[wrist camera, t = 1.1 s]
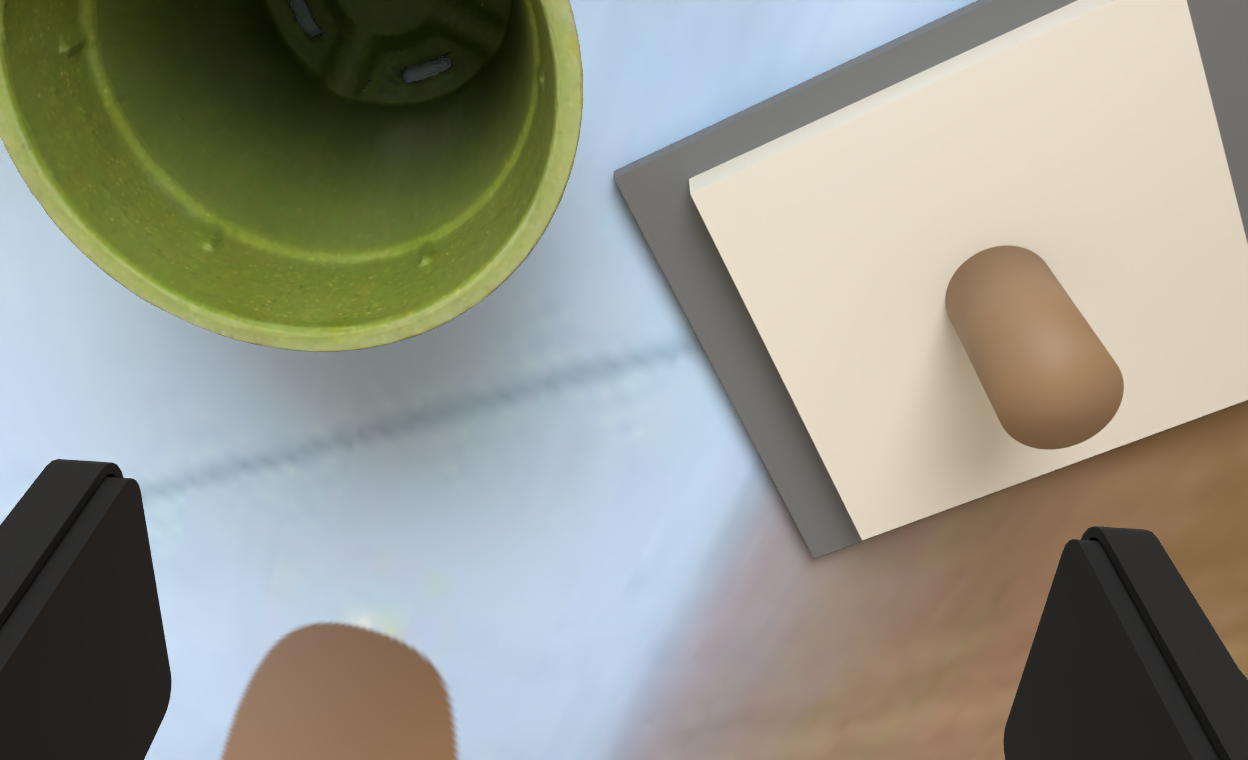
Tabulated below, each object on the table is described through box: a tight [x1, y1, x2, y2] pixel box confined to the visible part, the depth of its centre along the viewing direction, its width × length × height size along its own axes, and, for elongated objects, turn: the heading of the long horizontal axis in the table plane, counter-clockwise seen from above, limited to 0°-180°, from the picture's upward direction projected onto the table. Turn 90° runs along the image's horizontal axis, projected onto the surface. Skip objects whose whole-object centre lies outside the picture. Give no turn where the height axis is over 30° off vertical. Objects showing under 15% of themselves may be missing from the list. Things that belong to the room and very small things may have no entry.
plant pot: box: [0, 0, 583, 352], centre depth 28 cm, size 12×12×11 cm
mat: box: [614, 0, 1248, 559], centre depth 37 cm, size 18×16×1 cm
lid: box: [689, 0, 1248, 540], centre depth 33 cm, size 14×14×7 cm
